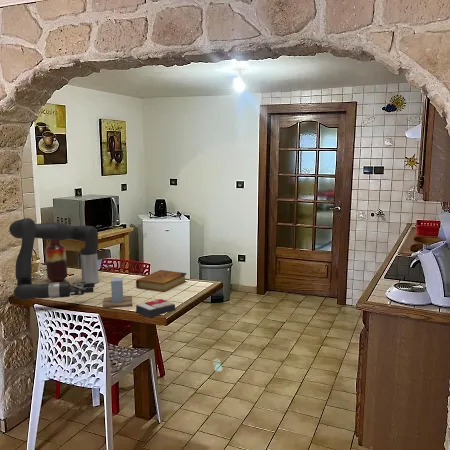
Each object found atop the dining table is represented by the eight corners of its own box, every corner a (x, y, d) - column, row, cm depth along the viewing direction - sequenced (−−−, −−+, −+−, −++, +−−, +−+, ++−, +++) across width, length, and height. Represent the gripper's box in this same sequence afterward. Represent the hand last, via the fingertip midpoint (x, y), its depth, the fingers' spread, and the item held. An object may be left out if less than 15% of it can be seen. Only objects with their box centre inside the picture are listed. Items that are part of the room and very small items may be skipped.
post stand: (103, 299, 236) (103, 284, 235) (131, 297, 239) (131, 282, 238) (102, 308, 223) (101, 292, 222) (132, 306, 226) (131, 290, 225)
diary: (159, 279, 277) (159, 269, 276) (186, 282, 268) (186, 273, 267) (136, 289, 256) (135, 278, 255) (164, 293, 248) (164, 282, 247)
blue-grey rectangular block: (112, 299, 233) (111, 278, 231) (123, 298, 234) (122, 277, 232) (112, 303, 228) (110, 281, 226) (123, 302, 229) (122, 280, 227)
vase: (71, 279, 275) (68, 236, 271) (60, 284, 265) (57, 240, 261) (55, 278, 278) (52, 235, 274) (43, 283, 267) (40, 239, 263)
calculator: (175, 303, 219) (149, 309, 209) (175, 311, 220) (149, 318, 209) (161, 298, 227) (135, 303, 217) (161, 306, 228) (135, 312, 217)
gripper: (56, 286, 217) (92, 284, 220) (60, 278, 230) (94, 276, 234) (57, 301, 218) (93, 299, 221) (61, 293, 232) (95, 290, 235)
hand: (94, 287), depth 228 cm, fingers open, 8 cm apart
